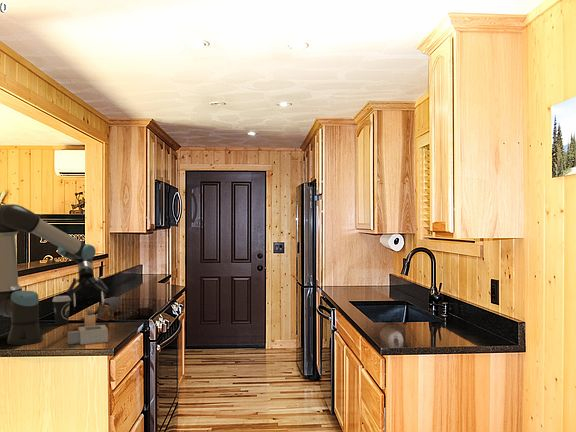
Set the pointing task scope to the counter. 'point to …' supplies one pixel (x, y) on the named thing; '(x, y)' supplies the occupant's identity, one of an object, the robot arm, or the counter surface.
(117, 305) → the bluetooth speaker
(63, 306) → the coffee cup
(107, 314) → the tin
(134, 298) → the counter surface
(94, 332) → the motor housing
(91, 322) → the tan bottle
